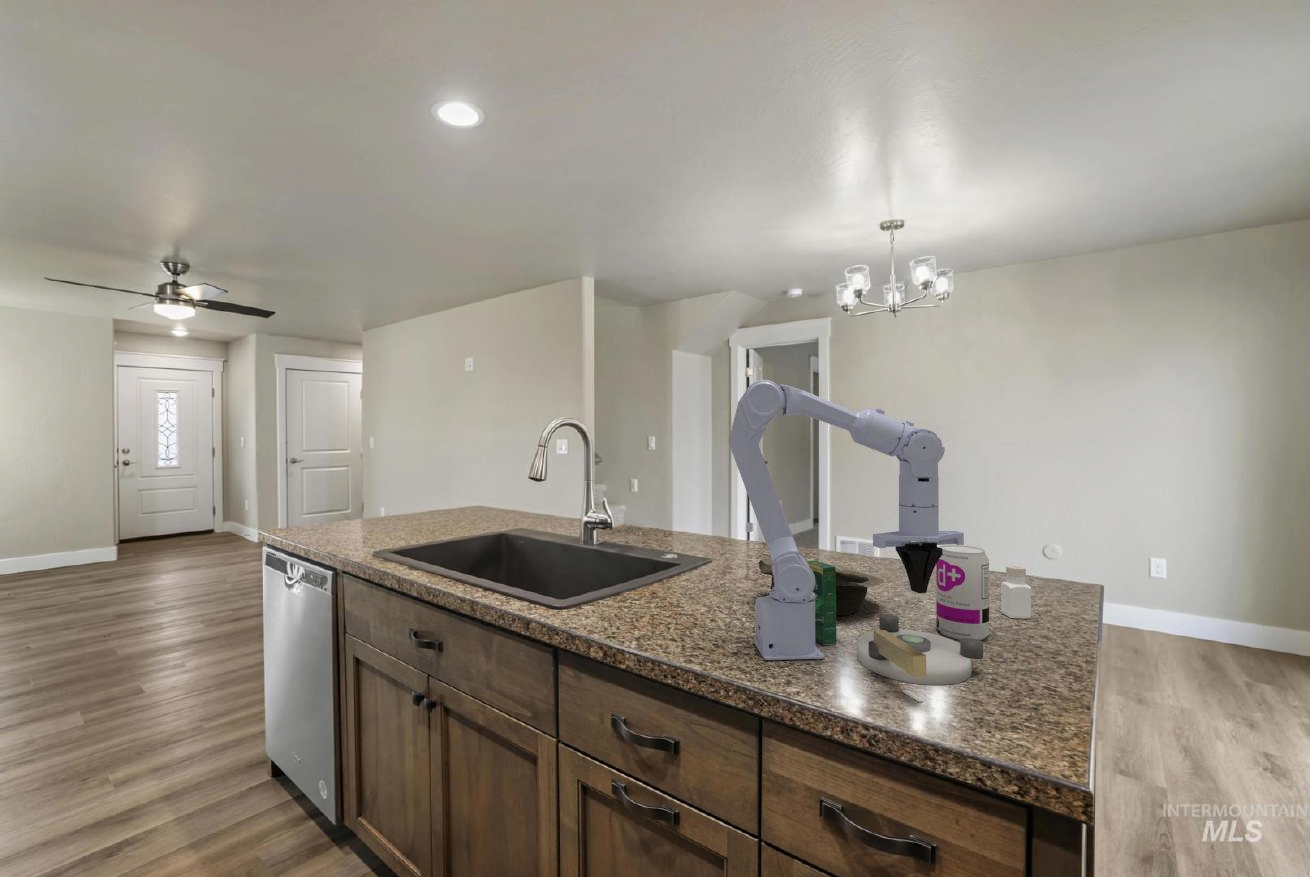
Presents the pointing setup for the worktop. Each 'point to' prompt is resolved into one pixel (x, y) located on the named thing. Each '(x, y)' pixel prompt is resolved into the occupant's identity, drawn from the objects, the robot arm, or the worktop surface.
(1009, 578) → the salt shaker
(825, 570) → the coffee box
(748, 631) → the worktop surface
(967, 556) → the supplement can
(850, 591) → the stone bowl
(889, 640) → the lever
